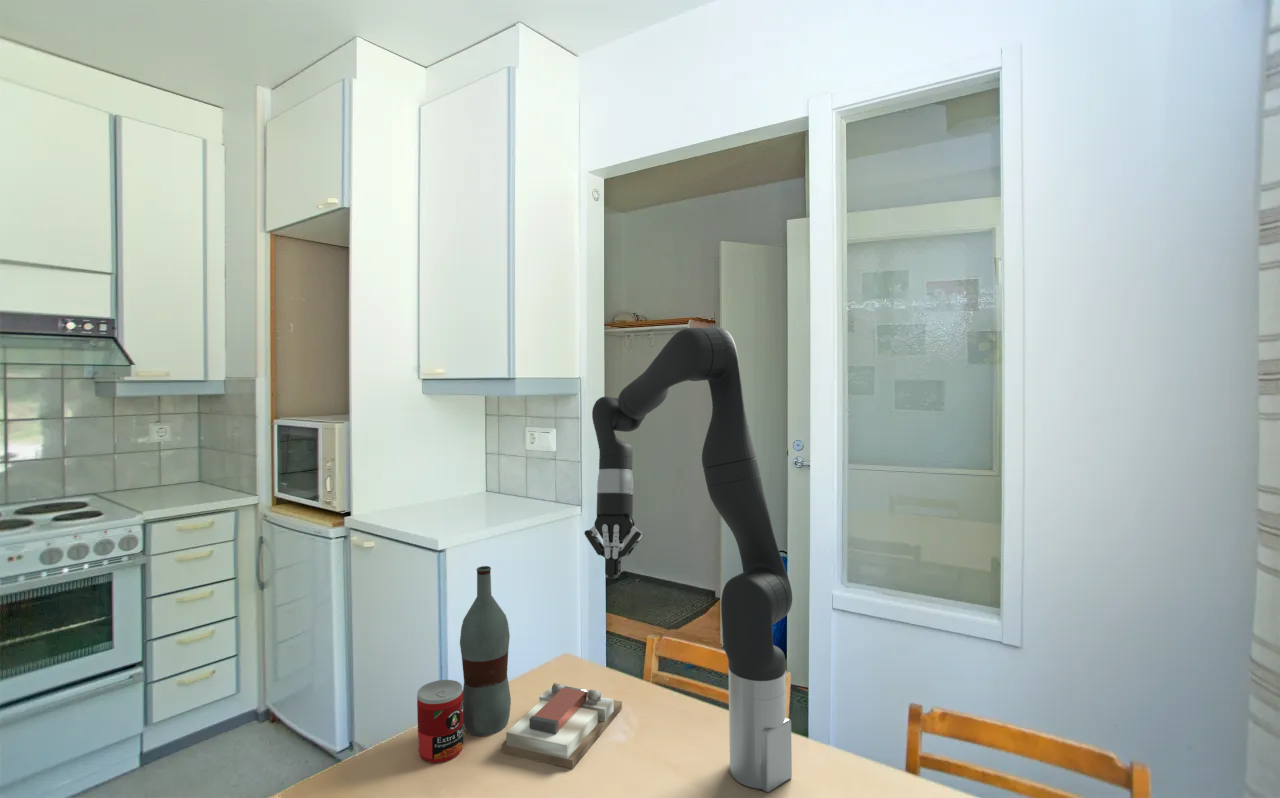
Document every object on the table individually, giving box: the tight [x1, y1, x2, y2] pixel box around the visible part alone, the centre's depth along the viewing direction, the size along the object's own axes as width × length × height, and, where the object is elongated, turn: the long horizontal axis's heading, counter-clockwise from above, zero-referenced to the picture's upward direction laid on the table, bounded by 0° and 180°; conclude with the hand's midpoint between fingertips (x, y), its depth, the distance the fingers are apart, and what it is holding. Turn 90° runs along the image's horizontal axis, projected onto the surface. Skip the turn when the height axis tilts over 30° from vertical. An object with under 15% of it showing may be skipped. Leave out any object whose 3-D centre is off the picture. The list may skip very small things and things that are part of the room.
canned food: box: [416, 679, 465, 764], centre depth 111 cm, size 8×8×11 cm
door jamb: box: [501, 682, 623, 770], centre depth 117 cm, size 21×14×6 cm, turn 159°
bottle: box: [459, 565, 512, 737], centre depth 119 cm, size 9×9×30 cm
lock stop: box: [530, 685, 590, 734], centre depth 116 cm, size 2×5×14 cm
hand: (613, 577), depth 128 cm, fingers closed
